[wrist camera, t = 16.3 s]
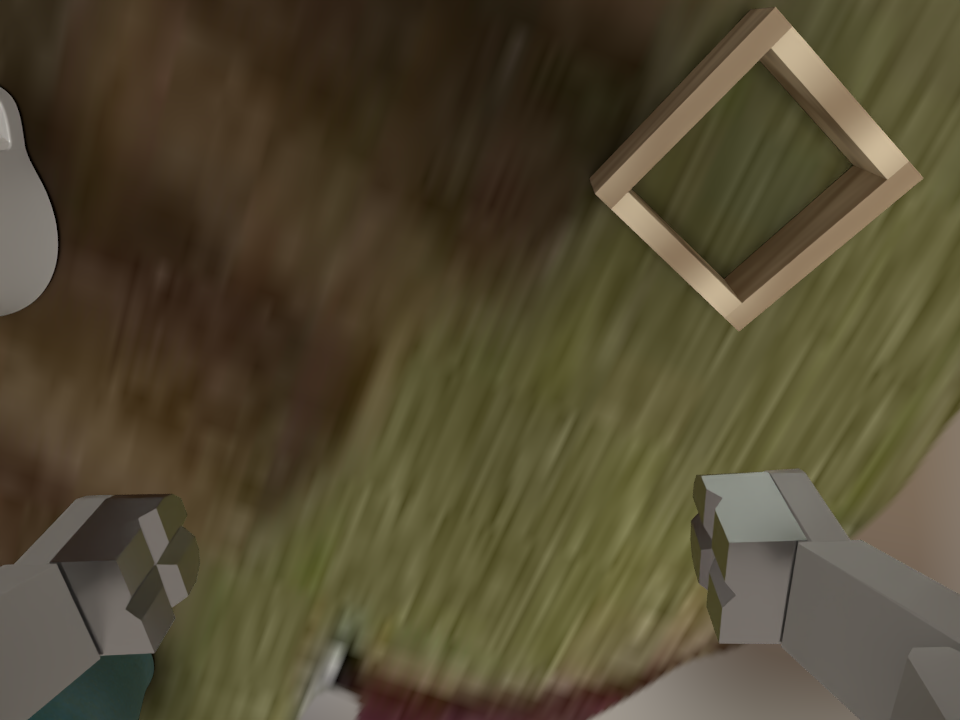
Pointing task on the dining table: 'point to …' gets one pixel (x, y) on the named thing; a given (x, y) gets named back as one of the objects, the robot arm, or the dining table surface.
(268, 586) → the dining table surface
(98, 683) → the flower pot
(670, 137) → the sleeve
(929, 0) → the dining table surface
